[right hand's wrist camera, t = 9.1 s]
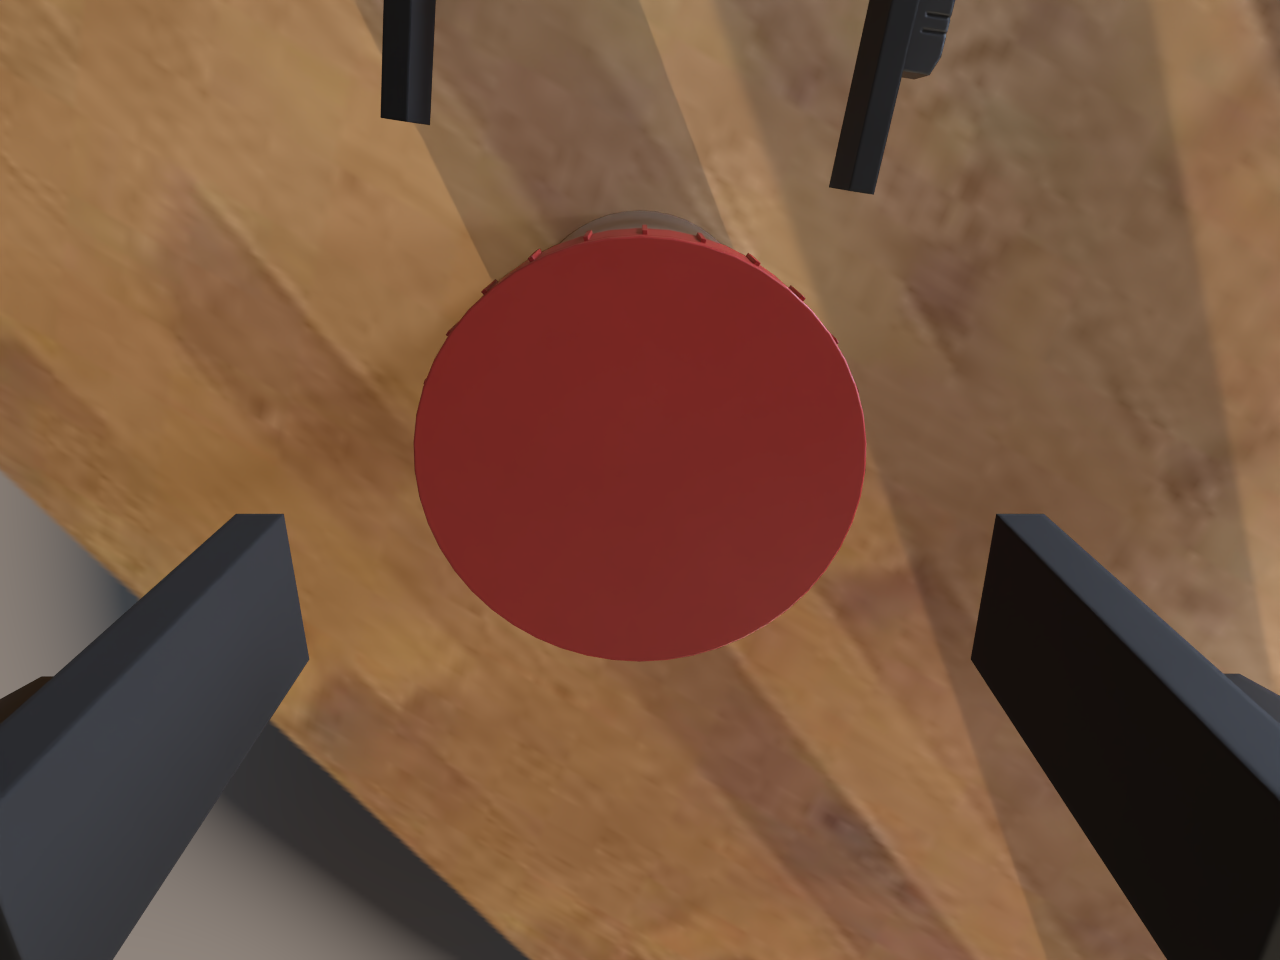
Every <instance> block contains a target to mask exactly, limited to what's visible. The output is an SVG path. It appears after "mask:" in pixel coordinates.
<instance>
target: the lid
mask: <svg viewBox="0 0 1280 960" xmlns="http://www.w3.org/2000/svg"><path fill="white" fill-rule="evenodd" d="M482 293H483V295H484V296H483V297H481V298H480V299H479V300H478V301H477V302H476V303H475V304H474V305H473V306H472V307H471V308H470V309H469V310H468V311H467V312H466V313H465V315H464V316H463V317H462V319H461V320H460V321H459V322H458V323H457V324H456V325H454V326H453V327H452V328H451V329H450V330H449V331H448V332H447V334H446V335H447V336H448V337H447V339H446V340H445V342H444V344H443V346H442V347H441V349H440V351H439V352H438V354H437V356H436V358H435V359H434V362H433V364H432V367H431V369H430V371H429V374H428V376H427V378H426V379H425V381H424V386H423V390H422V394H421V398H420V402H419V406H418V410H417V414H416V424H415V434H414V465H415V475H416V480H417V486H418V491H419V497H420V500H421V503H422V506H423V509H424V513H425V516H426V519H427V522H428V524H429V526H430V529H431V531H432V533H433V535H434V537H435V539H436V541H437V543H438V545H439V547H440V549H441V551H442V552H443V554H444V555H445V557H446V558H447V560H448V561H449V563H450V564H451V566H452V568H453V569H454V571H455V572H456V573H457V574H458V575H459V577H460V578H461V579H462V580H463V581H464V582H465V584H466V585H467V586H468V587H469V588H470V590H471V591H472V592H473V593H474V594H476V595H477V596H478V597H479V598H480V599H481V600H482V601H483V602H484V603H485V604H486V605H487V606H489V607H490V608H491V609H492V610H493V611H495V612H496V613H497V614H499V615H500V616H502V617H503V618H504V619H506V620H507V621H509V622H510V623H511V624H513V625H514V626H516V627H518V628H520V629H521V630H523V631H525V632H527V633H529V634H530V635H532V636H534V637H536V638H538V639H540V640H543V641H545V642H548V643H550V644H553V645H555V646H557V647H560V648H563V649H566V650H570V651H573V652H577V653H580V654H584V655H587V656H593V657H599V658H605V659H611V660H624V661H655V660H669V659H675V658H681V657H687V656H693V655H696V654H700V653H703V652H707V651H710V650H714V649H717V648H720V647H723V646H725V645H727V644H730V643H732V642H735V641H737V640H739V639H742V638H744V637H746V636H748V635H749V634H751V633H753V632H755V631H757V630H758V629H760V628H762V627H764V626H766V625H767V624H769V623H770V622H771V621H773V620H774V619H776V618H777V617H778V616H780V615H781V614H783V613H784V612H785V611H787V610H788V609H789V608H790V607H791V606H793V605H794V604H795V603H796V602H797V601H798V600H799V599H800V598H801V597H802V596H803V595H804V594H806V593H807V592H808V591H809V589H810V588H811V587H812V586H813V585H814V584H815V582H816V581H817V580H818V579H819V578H820V576H821V575H822V574H823V573H824V572H825V571H826V569H827V568H828V566H829V564H830V563H831V561H832V560H833V558H834V557H835V555H836V554H837V552H838V551H839V549H840V547H841V545H842V543H843V541H844V539H845V537H846V535H847V533H848V531H849V528H850V526H851V524H852V522H853V519H854V516H855V512H856V509H857V506H858V503H859V500H860V497H861V491H862V486H863V480H864V474H865V464H866V434H865V424H864V414H863V410H862V406H861V402H860V398H859V394H858V393H859V391H858V388H857V386H856V384H855V381H854V379H853V376H852V374H851V372H850V369H849V367H848V364H847V362H846V359H845V358H844V356H843V354H842V352H841V351H840V349H839V347H838V346H837V344H838V343H839V342H838V340H837V339H836V338H835V337H834V336H833V335H832V334H831V333H830V332H829V331H828V330H827V329H826V327H825V326H824V325H823V324H822V322H821V321H820V320H819V319H818V317H817V316H816V315H815V314H814V312H813V311H812V310H811V309H810V308H809V307H808V306H807V305H806V304H805V303H804V302H803V301H804V300H805V297H804V296H803V295H802V294H800V293H799V292H798V291H797V290H796V289H795V288H793V287H792V286H790V287H789V288H788V287H787V286H786V285H785V284H783V283H782V282H781V281H780V280H779V279H778V278H777V277H776V276H775V275H773V274H772V273H770V272H769V271H768V270H766V269H765V268H763V267H762V266H760V262H759V261H758V260H757V259H755V258H754V257H753V256H752V255H751V254H749V253H748V254H747V256H745V255H743V254H741V253H739V252H737V251H735V250H733V249H731V248H729V247H727V246H725V245H722V244H719V243H717V242H714V241H711V240H708V239H706V238H705V237H704V236H703V235H702V233H699V232H697V235H691V234H686V233H681V232H677V231H672V230H662V229H647V225H642V228H633V229H618V230H608V231H603V232H598V233H594V234H593V233H592V230H589V231H587V232H586V234H585V235H584V236H580V237H577V238H575V239H572V240H569V241H566V242H563V243H561V244H558V245H555V246H553V247H551V248H549V249H547V250H545V251H543V252H541V250H540V249H538V250H536V251H535V252H534V253H533V254H532V255H531V256H530V257H529V258H528V260H527V261H525V262H524V263H522V264H521V265H519V266H518V267H517V268H515V269H514V270H512V271H511V272H510V273H508V274H507V275H505V276H504V277H503V278H502V279H501V280H500V281H499V282H498V281H497V280H496V279H495V280H494V281H493V282H492V283H491V284H489V285H488V286H487V287H486V288H485V289H484V290H483V291H482Z"/></svg>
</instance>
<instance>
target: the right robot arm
mask: <svg viewBox="0 0 1280 960" xmlns="http://www.w3.org/2000/svg"><path fill="white" fill-rule="evenodd" d="M308 660H309V655H308V649H307V644H306V638H305V632H304V627H303V621H302V615H301V610H300V604H299V598H298V593H297V587H296V581H295V575H294V570H293V564H292V558H291V553H290V547H289V541H288V536H287V530H286V524H285V518H284V514H235V515H234V516H233V517H232V518H231V519H230V520H229V521H228V522H227V523H225V524H224V525H223V526H222V527H221V528H220V529H219V530H218V531H216V532H215V533H214V534H213V535H212V536H211V537H210V538H209V539H207V540H206V541H205V542H204V543H203V544H202V545H201V546H200V547H198V548H197V549H196V550H195V551H194V552H193V553H192V554H191V555H189V556H188V557H187V558H186V559H185V560H184V561H183V562H182V563H180V564H179V565H178V566H177V567H176V568H175V569H174V570H173V571H172V572H170V573H169V574H168V575H167V576H166V577H165V578H164V579H163V580H161V581H160V582H159V583H158V584H157V585H156V586H155V587H154V588H152V589H151V590H150V591H149V592H148V593H147V594H146V595H145V596H143V597H142V598H141V599H140V600H139V601H138V602H137V603H136V604H135V605H133V606H132V607H131V608H130V609H129V610H128V611H127V612H126V613H124V614H123V615H122V616H121V617H120V618H119V619H118V620H117V621H115V622H114V623H113V624H112V625H111V626H110V627H109V628H108V629H106V630H105V631H104V632H103V633H102V634H101V635H100V636H99V637H98V638H96V639H95V640H94V641H93V642H92V643H91V644H90V645H88V646H87V647H86V648H85V649H84V650H83V651H82V652H81V653H80V654H78V655H77V656H76V657H75V658H74V659H73V660H72V661H71V662H69V663H68V664H67V665H66V666H65V667H64V668H63V669H62V670H60V671H59V672H58V673H57V674H56V675H55V676H54V677H40V678H38V679H36V680H34V681H33V682H31V683H29V684H27V685H25V686H23V687H22V688H20V689H18V690H16V691H14V692H13V693H11V694H9V695H7V696H5V697H3V698H2V699H0V960H113V958H114V957H115V955H116V954H117V952H118V951H119V949H120V948H121V946H122V945H123V943H124V942H125V940H126V939H127V937H128V936H129V934H130V932H131V931H132V929H133V928H134V926H135V925H136V923H137V922H138V920H139V919H140V917H141V916H142V914H143V913H144V911H145V910H146V908H147V906H148V905H149V903H150V902H151V900H152V899H153V897H154V896H155V894H156V893H157V891H158V890H159V888H160V887H161V885H162V883H163V882H164V881H165V879H166V877H167V876H168V874H169V873H170V871H171V870H172V868H173V867H174V865H175V864H176V862H177V861H178V859H179V858H180V856H181V854H182V853H183V852H184V850H185V848H186V847H187V845H188V844H189V842H190V841H191V839H192V838H193V836H194V835H195V833H196V832H197V830H198V828H199V827H200V826H201V824H202V822H203V821H204V819H205V818H206V816H207V815H208V813H209V812H210V810H211V809H212V807H213V806H214V804H215V803H216V801H217V800H218V798H219V796H220V795H221V793H222V792H223V790H224V789H225V787H226V786H227V784H228V783H229V781H230V780H231V778H232V776H233V775H234V773H235V772H236V771H237V769H238V767H239V766H240V764H241V763H242V761H243V760H244V758H245V757H246V755H247V754H248V752H249V750H250V749H251V748H252V746H253V744H254V743H255V741H256V740H257V738H258V737H259V735H260V734H261V732H262V731H263V729H264V728H265V726H266V725H267V723H268V722H269V720H270V719H271V717H272V716H273V714H274V712H275V711H276V709H277V708H278V706H279V705H280V703H281V702H282V700H283V699H284V697H285V696H286V694H287V693H288V691H289V690H290V688H291V686H292V685H293V683H294V682H295V680H296V679H297V677H298V676H299V674H300V673H301V671H302V670H303V668H304V667H305V665H306V664H307V662H308ZM971 661H972V662H973V664H974V665H975V667H976V668H977V670H978V671H979V673H980V674H981V676H982V677H983V679H984V680H985V682H986V683H987V685H988V686H989V688H990V690H991V691H992V693H993V694H994V696H995V697H996V699H997V700H998V702H999V703H1000V705H1001V706H1002V708H1003V709H1004V711H1005V712H1006V714H1007V716H1008V717H1009V719H1010V720H1011V722H1012V723H1013V725H1014V726H1015V728H1016V729H1017V731H1018V732H1019V734H1020V735H1021V737H1022V738H1023V740H1024V741H1025V743H1026V745H1027V746H1028V748H1029V749H1030V751H1031V752H1032V754H1033V755H1034V757H1035V758H1036V760H1037V761H1038V763H1039V764H1040V766H1041V767H1042V769H1043V771H1044V772H1045V774H1046V775H1047V777H1048V778H1049V780H1050V781H1051V783H1052V784H1053V786H1054V787H1055V789H1056V790H1057V792H1058V793H1059V795H1060V796H1061V798H1062V800H1063V801H1064V803H1065V804H1066V806H1067V807H1068V809H1069V810H1070V812H1071V813H1072V815H1073V816H1074V818H1075V819H1076V821H1077V822H1078V824H1079V826H1080V827H1081V829H1082V830H1083V832H1084V833H1085V835H1086V836H1087V838H1088V839H1089V841H1090V842H1091V844H1092V845H1093V847H1094V848H1095V850H1096V852H1097V853H1098V855H1099V856H1100V858H1101V859H1102V861H1103V862H1104V864H1105V865H1106V867H1107V868H1108V870H1109V871H1110V873H1111V874H1112V876H1113V877H1114V879H1115V881H1116V882H1117V884H1118V885H1119V887H1120V888H1121V890H1122V891H1123V893H1124V894H1125V896H1126V897H1127V899H1128V900H1129V902H1130V903H1131V905H1132V907H1133V908H1134V910H1135V911H1136V913H1137V914H1138V916H1139V917H1140V919H1141V920H1142V922H1143V923H1144V925H1145V926H1146V928H1147V929H1148V931H1149V932H1150V934H1151V936H1152V937H1153V939H1154V940H1155V942H1156V943H1157V945H1158V946H1159V948H1160V949H1161V951H1162V952H1163V954H1164V955H1165V957H1166V958H1167V960H1280V696H1279V695H1277V694H1275V693H1274V692H1272V691H1270V690H1268V689H1266V688H1264V687H1263V686H1261V685H1259V684H1257V683H1255V682H1253V681H1252V680H1250V679H1248V678H1246V677H1244V676H1242V675H1241V674H1223V673H1222V672H1221V671H1220V670H1218V669H1217V668H1216V667H1215V666H1214V665H1213V664H1212V663H1211V662H1209V661H1208V660H1207V659H1206V658H1205V657H1204V656H1203V655H1202V654H1200V653H1199V652H1198V651H1197V650H1196V649H1195V648H1194V647H1193V646H1191V645H1190V644H1189V643H1188V642H1187V641H1186V640H1185V639H1184V638H1183V637H1181V636H1180V635H1179V634H1178V633H1177V632H1176V631H1175V630H1174V629H1172V628H1171V627H1170V626H1169V625H1168V624H1167V623H1166V622H1165V621H1163V620H1162V619H1161V618H1160V617H1159V616H1158V615H1157V614H1156V613H1154V612H1153V611H1152V610H1151V609H1150V608H1149V607H1148V606H1147V605H1145V604H1144V603H1143V602H1142V601H1141V600H1140V599H1139V598H1138V597H1137V596H1135V595H1134V594H1133V593H1132V592H1131V591H1130V590H1129V589H1128V588H1126V587H1125V586H1124V585H1123V584H1122V583H1121V582H1120V581H1119V580H1117V579H1116V578H1115V577H1114V576H1113V575H1112V574H1111V573H1110V572H1108V571H1107V570H1106V569H1105V568H1104V567H1103V566H1102V565H1101V564H1099V563H1098V562H1097V561H1096V560H1095V559H1094V558H1093V557H1092V556H1091V555H1089V554H1088V553H1087V552H1086V551H1085V550H1084V549H1083V548H1082V547H1080V546H1079V545H1078V544H1077V543H1076V542H1075V541H1074V540H1073V539H1071V538H1070V537H1069V536H1068V535H1067V534H1066V533H1065V532H1064V531H1062V530H1061V529H1060V528H1059V527H1058V526H1057V525H1056V524H1055V523H1053V522H1052V521H1051V520H1050V519H1049V518H1048V517H1047V516H1046V515H1045V514H996V518H995V524H994V530H993V536H992V541H991V547H990V553H989V558H988V564H987V570H986V575H985V581H984V587H983V592H982V598H981V604H980V610H979V615H978V621H977V627H976V632H975V638H974V644H973V649H972V655H971Z"/></svg>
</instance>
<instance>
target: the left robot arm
mask: <svg viewBox="0 0 1280 960" xmlns="http://www.w3.org/2000/svg"><path fill="white" fill-rule="evenodd" d="M954 3H955V0H869V5H868V10H867V14H866V19H865V23H864V28H863V33H862V37H861V42H860V47H859V51H858V56H857V60H856V65H855V70H854V74H853V79H852V83H851V88H850V93H849V97H848V102H847V106H846V111H845V116H844V120H843V125H842V129H841V134H840V139H839V143H838V148H837V153H836V157H835V162H834V166H833V171H832V176H831V180H830V185H829V187H830V188H836V189H842V190H848V191H854V192H860V193H867V194H873V195H874V191H875V187H876V183H877V178H878V174H879V170H880V166H881V162H882V157H883V153H884V149H885V145H886V140H887V136H888V132H889V128H890V124H891V119H892V115H893V111H894V107H895V102H896V98H897V94H898V90H899V86H900V81H901V77H903V78H909V79H917V78H921V77H924V76H928V75H930V73H931V72H932V70H933V69H934V67H935V65H936V64H937V62H938V61H939V59H940V58H941V55H942V51H943V47H944V43H945V39H946V33H947V31H948V27H949V23H950V17H951V15H952V11H953V7H954ZM435 4H436V0H384V10H383V48H382V87H381V118H386V119H392V120H399V121H405V122H412V123H419V124H426V125H430V112H431V90H432V69H433V47H434V26H435Z"/></svg>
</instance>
